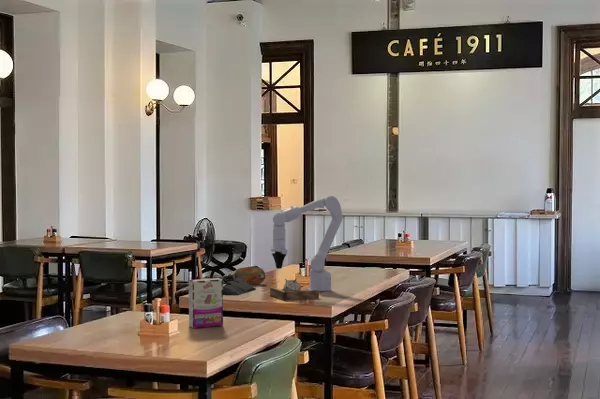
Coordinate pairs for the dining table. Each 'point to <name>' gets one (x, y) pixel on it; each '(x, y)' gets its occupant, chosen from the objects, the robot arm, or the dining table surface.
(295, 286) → the game die
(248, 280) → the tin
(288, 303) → the dining table surface
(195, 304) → the candy bar box
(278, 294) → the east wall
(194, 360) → the dining table surface
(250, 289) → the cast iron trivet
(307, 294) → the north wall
